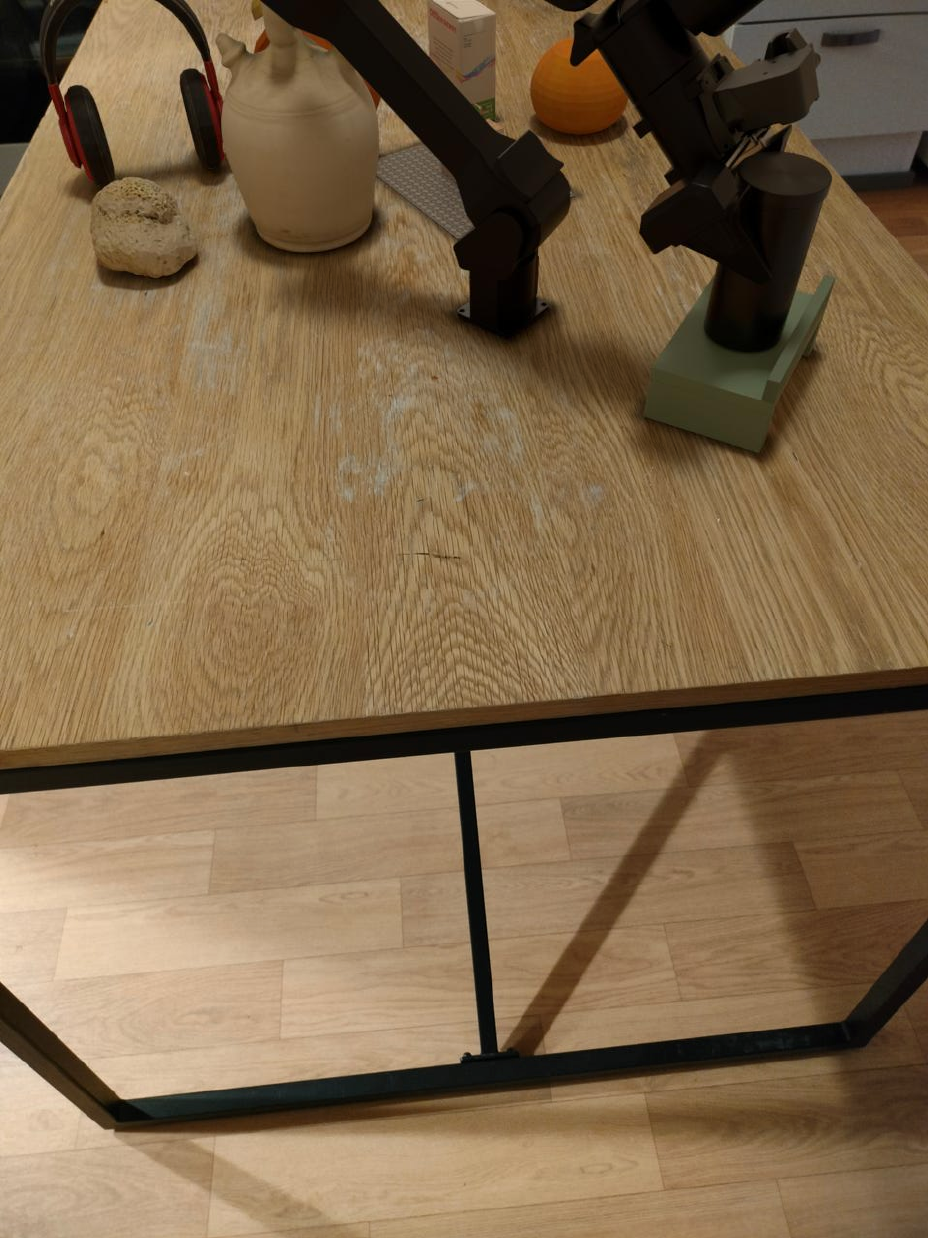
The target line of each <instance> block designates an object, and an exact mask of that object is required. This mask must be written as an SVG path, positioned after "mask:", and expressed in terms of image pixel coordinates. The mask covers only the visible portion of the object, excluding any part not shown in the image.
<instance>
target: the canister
mask: <svg viewBox="0 0 928 1238" xmlns="http://www.w3.org/2000/svg"><path fill="white" fill-rule="evenodd" d="M832 182H833V174H832V172H831V171H830V169H829V168H828V167H827V166H825V164H823V163H822V162H820V161H818V160H817V159H815V158H812V157H809V156H807V155H803V154H799V153H795V152H789V151H784V152H779V151H770V152H761V153H756V154H753V155H750V156H748V157H746V158H744V159H743V160H742V161H741V162H740V163H739V165H738V167H737V172H736V176H735V185H736V191H739V190H741V189H742V188H744V187H745V186H747V185H749V184H750V191H749V195H748V200H747V205H746V209H745V215H746V217H747V220H748V222H749V224H750V226H751V228H752V230H753V232H754V235H755V237H756V239H757V241H758V243H759V245H760V247H761V250H762V252H763V254H764V256H765V258H766V261H767V263H768V266H769V268H770V271H771V273H772V278H771V279H770V280H769V281H768V282H766V283H764V284H762V285H758V284H756V283H754V282H753V281H751V280H749V279H747V278H745V277H744V276H742V275H740V274H738V273H736V272H735V271H733V270H731V269H729V268H727V267H726V266H724V265H722V264H720V263H718V262H716V268H715V271H714V274H715V276H714V275H713V276H714V280H713V285H712V289H711V293H710V298H709V302H708V306H707V311H706V315H705V319H704V324H703V325H704V330H705V332H706V334H707V335H708V337H709V338H710V339H711V340H713V341H714V342H715V343H717V344H719V345H721V346H723V347H725V348H728V349H731V350H735V351H741V352H758V351H763V350H767V349H769V348H772V347H773V346H775V345H776V344H777V343H778V342H779V341H780V339H781V337H782V333H783V330H784V327H785V324H786V321H787V317H788V314H789V311H790V308H791V304H792V301H793V298H794V295H795V292H796V290H797V288H798V285H799V282H800V279H801V275H802V272H803V269H804V266H805V262H806V260H807V256H808V253H809V250H810V247H811V243H812V240H813V237H814V233H815V230H816V227H817V224H818V220H819V217H820V214H821V211H822V208H823V204H824V201H825V199H826V198H827V197H828V196H829V192H830V190H831V186H832Z"/></svg>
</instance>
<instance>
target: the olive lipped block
mask: <svg viewBox="0 0 928 1238" xmlns="http://www.w3.org/2000/svg"><path fill="white" fill-rule="evenodd" d="M714 276H715V273H714V274H713V276H712V278H711V279H710V281H709V282H708V283H707V285H706V286H705V287H704V289H703V291H702V292H701V293H700V295H699V296H698V298H697V300H696V301H695V302H694V304H693V306H692V307H691V308H690V310H689V311H688V313H687V314H686V316H685V317H684V319H683V320H682V322H681V323H680V325H679V326H678V328H677V329H676V330H675V332H674V334H673V335H672V337H671V338H670V339H669V341H668V343H666V346H665V347H664V348H663V350H662V351H661V353H660V354H659V356H658V357H657V359H656V360H655V362H654V363H653V365H652V366H651V368H650V374H649V380H648V386H647V393H646V399H645V403H644V410H643V417H644V418H646V419H650V420H654V421H656V422H660V423H663V424H666V425H669V426H672V427H675V428H678V429H682V430H685V431H688V432H691V433H694V434H697V435H701V436H704V437H707V438H710V439H713V440H715V441H719V442H722V443H725V444H727V445H731V446H734V447H737V448H740V449H745V450H746V451H747V450H748V451H750V452H753V453H756V454H759V453H760V452H761V450H762V448H763V446H764V444H765V443H766V439H767V435H768V432H769V429H770V426H771V423H772V420H773V416H774V412H775V409H776V406H777V404H778V402H779V400H780V398H781V396H782V394H783V392H784V390H785V388H786V387H787V384H788V383H789V381H790V379H791V377H792V375H793V374H794V372H795V369H796V368H797V365H798V363H799V362H800V360H801V358H802V356H804V357H810V355H811V353H812V351H813V349H814V347H815V344H816V340H817V338H818V334H819V331H820V328H821V325H822V322H823V319H824V316H825V312H826V310H827V307H828V304H829V301H830V298H831V295H832V292H833V288H834V285H835V282H836V279H837V277H835V276H832V275H829V274H824V275H823V276H822V278H821V280H820V282H819V284H818V285H817V288H816V289H815V291H814V292H813V293H809V292H806V291H802V290H798V289H796V292H795V295H794V298H793V301H792V304H791V308H790V311H789V314H788V317H787V321H786V324H785V327H784V330H783V333H782V337H781V339H780V341H779V342H778V343H777V344H776V345H775V346H773V347H772V348H769V349H767V350H763V351H758V352H741V351H735V350H731V349H728V348H725V347H723V346H721V345H719V344H717V343H715V342H714V341H713V340H711V339H710V338H709V337H708V335H707V334H706V332H705V330H704V325H703V324H704V319H705V315H706V311H707V306H708V302H709V298H710V293H711V289H712V285H713V280H714Z"/></svg>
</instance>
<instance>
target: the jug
mask: <svg viewBox="0 0 928 1238" xmlns="http://www.w3.org/2000/svg"><path fill="white" fill-rule="evenodd" d="M261 5H262V13H263V16H262V19H263V24H264V25H263V26H264V29H265V30H266V33H267V36H268V39H269V41H270V42H271V44H270V45H269V47H268V48H267V49H265V50H263V51H261V52H258V53H255V54H254V53H252V52H249V51H248V50H247V46H246V43H245V42H244V41H242V40H236V39H235V38H233V37H232V36H230V35H229V34H227V33H226V32H219V33H218V34H217V36H216V37H215V40H214V42H215V45H216V47H217V50H218V53H219V54H220V56H221V59H220V63H221V66H222V67H224V68H225V69H228V70H229V71H230V74H231V78H230V80H229V82H228V86H227V88H226V90H225V96H224V98H223V101H224V102H223V108H222V119H221V127H222V139H223V151H224V154H225V156H226V159H227V161H228V164H229V167H230V170H231V172H232V175H233V178H234V180H235V183H236V185H237V187H238V191H239V192H240V194H241V197H242V200H243V202H244V206H245V207H246V210H247V212H248V214H249V216H250V218H251V220H252V222H253V223H254V225H255V229H256V231H257V233H258V235H259V237H260V238H261V239H262V240H263V241H264V242H265V243H267V244H269V245H270V246H272V247H274V248H276V249H278V250H282V251H286V252H290V253H291V252H292V253H303V254H304V253H317V252H318V253H320V252H326V251H330V250H334V249H338V248H341V247H344V246H347V245H349V244H351V243H353V242H354V241H356V240H358V239H359V238H361V237H362V236H363V235H364V234H365V233H366V232H367V230H369V227H370V226H371V222H372V218H373V210H374V203H375V202H374V201H375V191H376V182H377V177H378V176H377V168H378V159H379V155H380V128H379V119H378V112H377V111H376V108H375V104H374V101H373V99H372V96H371V94H370V92H369V90H368V88H367V86H366V85H365V83H364V81H363V79H362V77H361V76H360V75H359V73H358V72H357V71H356V70H355V69H354V68H353V67H352V66H351V65H350V63H349V62H348V61H347V60H346V59H345V58H344V57H343V56H342V55H341V54H340V53H339V52H338V50H337V49H336V48H335V47H334V46H333V45H332V49H331V50H329V51H328V50H326V49H324V48H321V47H318V46H315V45H311V44H309V43H308V42H307V41H306V40H305V39H304V38H303V35H302V32H301V30H300V29H297V28H295V27H292V26H290V25H289V24H287V23H286V22H285V21H284V20H283V19H281V18H280V17H279V16H278V15H277V14H275V13H274V12H273V11H272V10H270V9H269V8H268V7H267V6H266V5H264V4H263V3H262V2H261Z"/></svg>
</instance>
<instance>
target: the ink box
mask: <svg viewBox="0 0 928 1238" xmlns="http://www.w3.org/2000/svg"><path fill="white" fill-rule="evenodd" d="M426 6H427V8H426V9H427V30H428V31H427V32H428V54H429V55H428V56H429V57H430V58H431V59H432V61H433V62H434V63H435V64H436V65H437V66H438V67H439V68H440V70H441V71H442V72H443V73H444V74H445V75H446V76H447V77H448V78H449V80H450V81H451V82H452V83H453V84H454V85H455V86H456V87H457V89H458V90H459V91H460V92H461V93H462V94H463V95H464V96H465V97H466V99H467V100H468V101H469V102H470V103H471V104H472V105H473V106H474V102H476V104H477V105H479V106H480V107H481V108H482V116H483V118H484V119H485V120H487V119H490V120H492V121H495V120H496V48H497V47H496V45H497V43H496V40H497V39H496V37H497V13H496V12H494V10H492V9H490V8H488V7H487V6H485V5H484V4H482V3H481V2H480V1H478V0H426Z"/></svg>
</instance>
